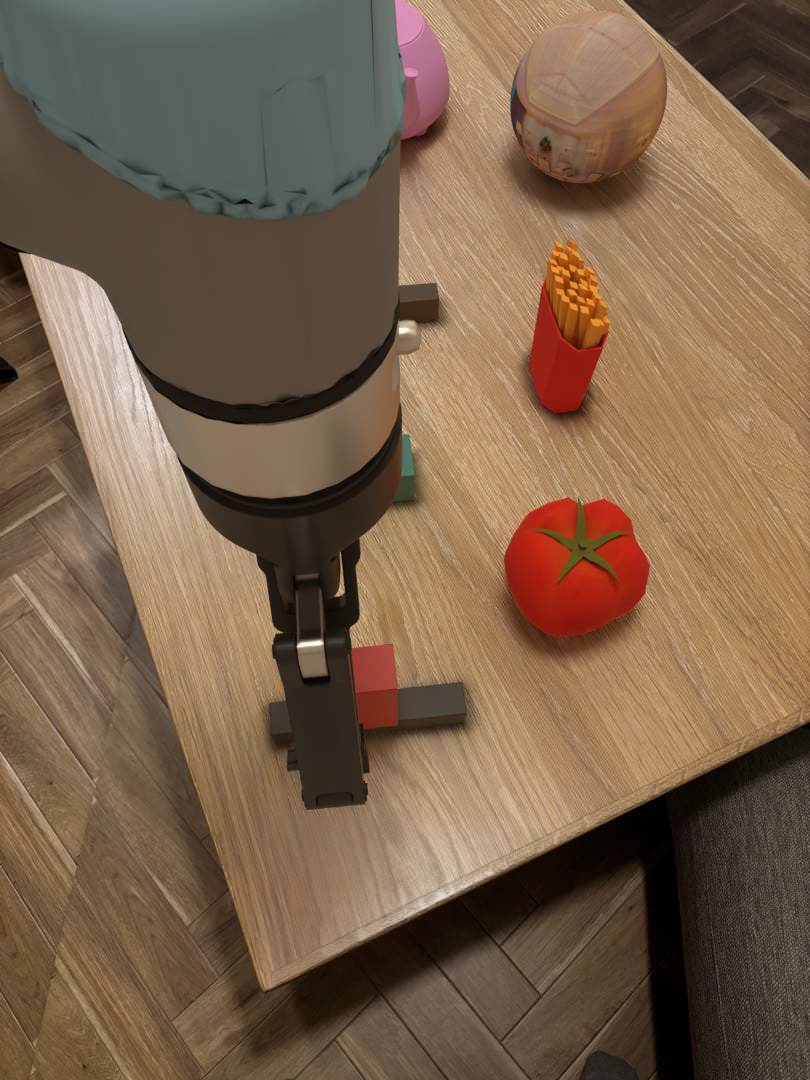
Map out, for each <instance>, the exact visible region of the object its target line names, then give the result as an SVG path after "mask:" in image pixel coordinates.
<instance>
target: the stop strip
mask: <svg viewBox="0 0 810 1080" xmlns="http://www.w3.org/2000/svg"><path fill="white" fill-rule="evenodd" d="M398 289H399V293H400V297H399V298H400V318H399V321H403V320H413V321H415V322H416V323H417V324H420V323H430V322H431V323H432V322H439V312H440V311H439V309H440V296H439V295H440V294H439V290H438V283H437V282H428V283H414V284H402V285H398Z"/></svg>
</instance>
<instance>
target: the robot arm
mask: <svg viewBox="0 0 810 1080" xmlns="http://www.w3.org/2000/svg"><path fill="white" fill-rule="evenodd" d="M406 95H407V84H406V78H405V73H404V69H403V62H402V56H401V52H400V49H399V45H398V37H397V23H396V9H395V0H0V247H2V248H5V249H7V250H10V251H13V252H16V253H18V254H19V253H20V254H26V255H33V256H35V257H37V258H41V259H45V260H47V261H50V262H52V263H56V264H59V265H60V266H61V265H62V266H65V267H67V268H70V269H72V270H75V271H78V272H81V273H82V274H84V275H85V276H87V277H89V278H90V279H91V280H93V281H94V282H96V284H97V285H98V286H99V287H100V288H101V289H102V290H103V291H104V293H105V296H106V298H107V300H108V301H109V304H110V306H111V307H112V309H113V311H114V313H115V315H116V317H117V319H118V321H119V323H120V326H121V329H122V333H123V336H124V339H125V341H126V344H127V346H128V349H129V350H130V354H132V358H133V360H134V363H135V365H136V368H137V370H138V372H139V373H138V374H139V375H140V378H141V380H142V382H143V385H144V388H145V390H146V391H147V394H148V397H149V400H150V402H151V404H152V407H153V409H154V411H155V414H156V416H157V418H158V421H159V423H160V426H161V429H162V430H163V432H164V435H165V438H166V440H167V442H168V443H169V446H171V448H172V450H173V451H174V452H175V455H176V457H177V460H178V463H179V465H180V468H181V471H182V473H183V475H184V477H185V479H186V482H187V484H188V486H189V489H190V491H191V493H192V495H193V498H194V499H195V502H196V505H197V507H198V508H199V510H200V512H201V514H202V515H203V517H204V518H205V520H206V521H207V522H208V523H209V524H210V525H211V526H212V528H213V529H214V530H216V531H217V533H219V534H220V536H222V537H223V538H225V539H226V540H227V541H229V542H231V543H232V544H234V545H236V546H237V547H239V548H241V549H243V550H245V551H248V552H250V553H251V554H254V555H255V556H256V563H257V566H258V568H259V569H260V570H261V571H262V573H264V575H265V580H266V588H267V594H268V602H269V607H270V615H271V623H272V625H273V627H274V628H275V630H277V631H279V632H280V633H277V632H276V633H275V634H274V637H273V639H272V644H271V656H272V659H273V660H274V661H275V664H276V668H277V671H278V674H279V677H280V680H281V683H282V686H283V692H284V697H285V701H286V703H287V709H288V714H289V719H290V725H291V730H292V736H293V741H292V742H293V747H290V748H287V754H286V764H285V765H286V770H287V772H297V771H298V773H299V778H300V779H299V780H300V785H301V790H300V796H301V802H303V805H304V809H305V810H306V811H314V810H315V811H316V810H325V809H334V808H345V807H353V806H363V805H366V804H367V802H368V796H369V784H368V782H366V780H365V779H364V778H365V777H364V775H365V774H370V773H371V769H370V759H369V758H370V757H369V751H368V746H367V738H366V733H365V732H364V726H363V723H362V724H359V717H358V708H357V698H356V688H355V678H354V669H353V659H352V648H353V645H352V637H351V632H350V631H351V627H353V626H354V625H356V624H357V623H358V622H359V620H360V617H361V616H360V615H361V611H360V610H361V609H360V597H359V585H358V575H357V564H358V563H359V561H360V560H361V556H362V555H361V554H362V552H361V550H362V549H361V540H360V538H361V537H363V536H364V535H365V534H367V533H368V532H369V531H370V530H371V529H372V528H374V526H376V525H377V523H379V521H380V520H381V519H382V518H383V517H384V516H385V514H386V513H387V511H388V510H389V508H390V507H391V505H392V503H393V502H392V501H393V499H394V497H395V495H396V492H397V489H398V486H399V483H400V479H401V473H402V435H403V414H402V413H403V410H402V409H403V408H402V403H401V366H400V365H401V364H400V356H407V355H408V356H409V355H412V354H413V353H415V352H417V351H418V350H419V351H420V347H421V343H422V329H421V328H420V326H419V323H416V322H415V321H413V320H403V321H399V318H400V298H399V297H400V293H399V289H398V286H399V274H400V212H401V211H400V204H401V203H400V202H401V201H400V199H401V141H402V140H401V136H402V133H403V131H404V128H405V121H404V118H403V114H404V110H405V106H404V102H405V101H406ZM341 573H342V574H341ZM341 575H342V578H343V579H342V580H343V588H344V592H343V593H342V594H341V595H338V592H339V590H340V585H341ZM336 595H338V596H336Z"/></svg>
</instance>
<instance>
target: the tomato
mask: <svg viewBox="0 0 810 1080" xmlns="http://www.w3.org/2000/svg"><path fill="white" fill-rule="evenodd" d="M503 564H504V570H505V575H506V580H507V581H506V582H507V585H508V590H509V592H510V594H511V595H512V597H513V599H514V601H515V604H516V606H517V608H518V610H519V611H520V612H521V614H523V616H524V617H525V619H526V620H527V621H528V622H529V623H530V624H531V625H532V626H534V627H535V628H536V629H538V630H540V631H541V632H542V633H544V634H545V635H547V636H552V637H557V638H568V637H574V636H580V635H584V634H587V633H591V632H593V631H596V630H600V629H601V628H603V627H604V626H606V625H607V624H609V623H610V622H611V621H613V620H616V619H617V618H620V617H622V616H625V615H626V614H628V613H629V614H630V612H631V611H632V610H633V609H634V608H635V606H637V604H638V603H639V602H640V601H641V599H643V597H644V596H645V594H646V591H647V590H646V589H647V586H648V579H649V574H650V567H651V565H650V562H649V560H648V558H647V555H646V554H645V552H644V551H643V549H642V547H641V546H640V544H639V542H638V541H637V538H636V536H635V532H634V526H633V521H632V519H631V518H630V517H629V516H628V515H627V514H626V512H624V510H623V509H622V508H621V507H620V506H619V505H618V504H615V503H613V502H611V501H610V500H608V499H606V498H601V499H598V500H594V501H591V502H587V503H584V504H582V501H581V499H580V497H579V496H577V501H576V500H575V499H572V498H570V497H564V498H561V499H556V500H554V501H549V502H547V503H545V504H543V505H541V506H539V507H538V508H535V509H534V510H532V511H530V512H529V513H527V515H526V516H525V517H524V518H523V520H522V521H521V523H520V524H519V525H518V527H517V528H516V530H515V531H514V533H513V534H512V537H511V539H510V541H509V544H508V545H507V548H506V550H505V553H504V557H503Z"/></svg>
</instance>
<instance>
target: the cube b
mask: <svg viewBox="0 0 810 1080" xmlns="http://www.w3.org/2000/svg"><path fill="white" fill-rule="evenodd" d="M415 482H416V473H415V466H414V457H413V451H412V445H411V436H410V433H404V434H403V433H402V473H401V479H400V483H399V486H398V489H397V492H396V495H395V497H394V499H393V501H392V503H396V502H406V501H414V500H415Z"/></svg>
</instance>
